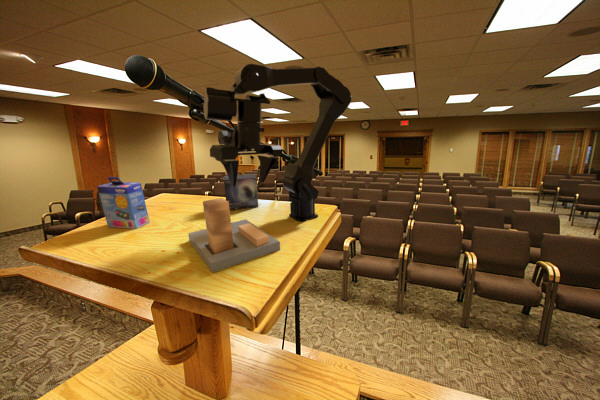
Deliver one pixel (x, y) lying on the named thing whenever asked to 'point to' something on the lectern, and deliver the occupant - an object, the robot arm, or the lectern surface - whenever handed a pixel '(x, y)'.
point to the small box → (241, 192)
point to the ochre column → (218, 225)
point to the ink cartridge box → (123, 204)
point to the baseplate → (235, 245)
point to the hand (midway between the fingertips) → (248, 184)
